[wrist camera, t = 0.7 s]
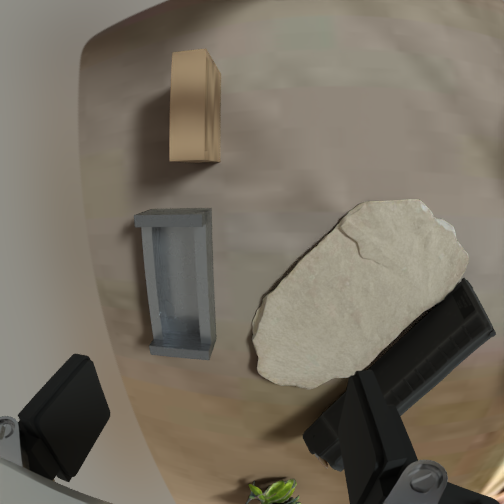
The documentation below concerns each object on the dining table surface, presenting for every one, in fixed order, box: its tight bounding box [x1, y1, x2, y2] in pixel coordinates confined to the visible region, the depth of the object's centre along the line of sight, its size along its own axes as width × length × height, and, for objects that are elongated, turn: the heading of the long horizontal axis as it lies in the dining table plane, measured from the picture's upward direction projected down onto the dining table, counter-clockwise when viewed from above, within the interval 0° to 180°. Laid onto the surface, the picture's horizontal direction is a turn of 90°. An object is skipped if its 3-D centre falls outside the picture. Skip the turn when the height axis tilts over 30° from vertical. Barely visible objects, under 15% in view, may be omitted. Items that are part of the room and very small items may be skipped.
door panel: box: [169, 49, 221, 163], centre depth 27 cm, size 10×3×8 cm, turn 0°
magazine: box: [303, 278, 496, 472], centre depth 32 cm, size 17×3×30 cm
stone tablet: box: [252, 199, 469, 389], centre depth 34 cm, size 16×30×2 cm, turn 133°
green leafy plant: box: [246, 479, 301, 504], centre depth 43 cm, size 11×11×12 cm
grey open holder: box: [134, 208, 216, 360], centre depth 34 cm, size 16×7×5 cm, turn 0°
